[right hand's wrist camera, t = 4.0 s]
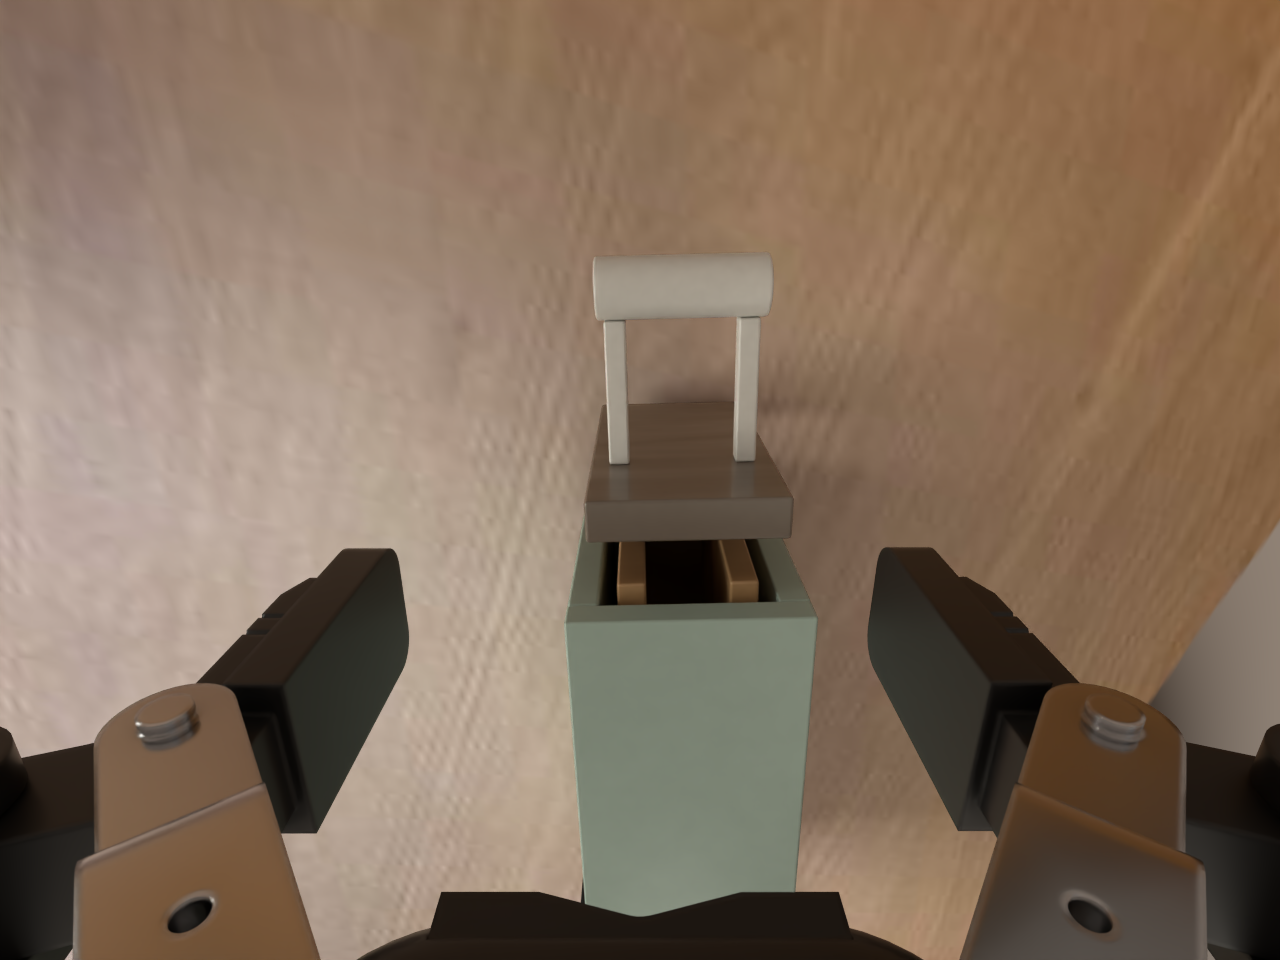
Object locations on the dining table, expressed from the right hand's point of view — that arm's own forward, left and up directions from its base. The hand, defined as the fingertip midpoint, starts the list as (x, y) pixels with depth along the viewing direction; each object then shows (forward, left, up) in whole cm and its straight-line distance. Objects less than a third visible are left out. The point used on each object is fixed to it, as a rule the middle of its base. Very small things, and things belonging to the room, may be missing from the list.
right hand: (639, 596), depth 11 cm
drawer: (+8, -1, -16) cm, 18 cm away
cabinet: (+14, -2, -17) cm, 22 cm away
